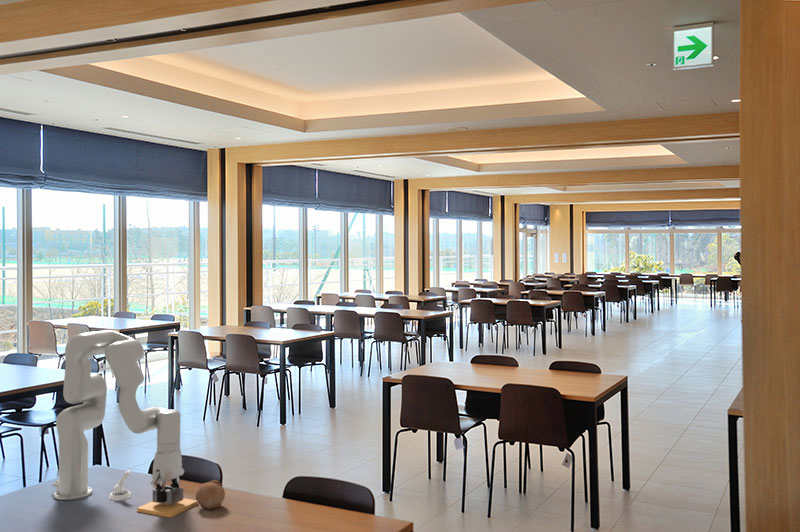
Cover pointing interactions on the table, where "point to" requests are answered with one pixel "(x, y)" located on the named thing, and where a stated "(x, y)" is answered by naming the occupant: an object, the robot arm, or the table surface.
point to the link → (170, 495)
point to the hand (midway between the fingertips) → (167, 498)
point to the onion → (210, 494)
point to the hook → (121, 489)
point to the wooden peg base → (167, 507)
